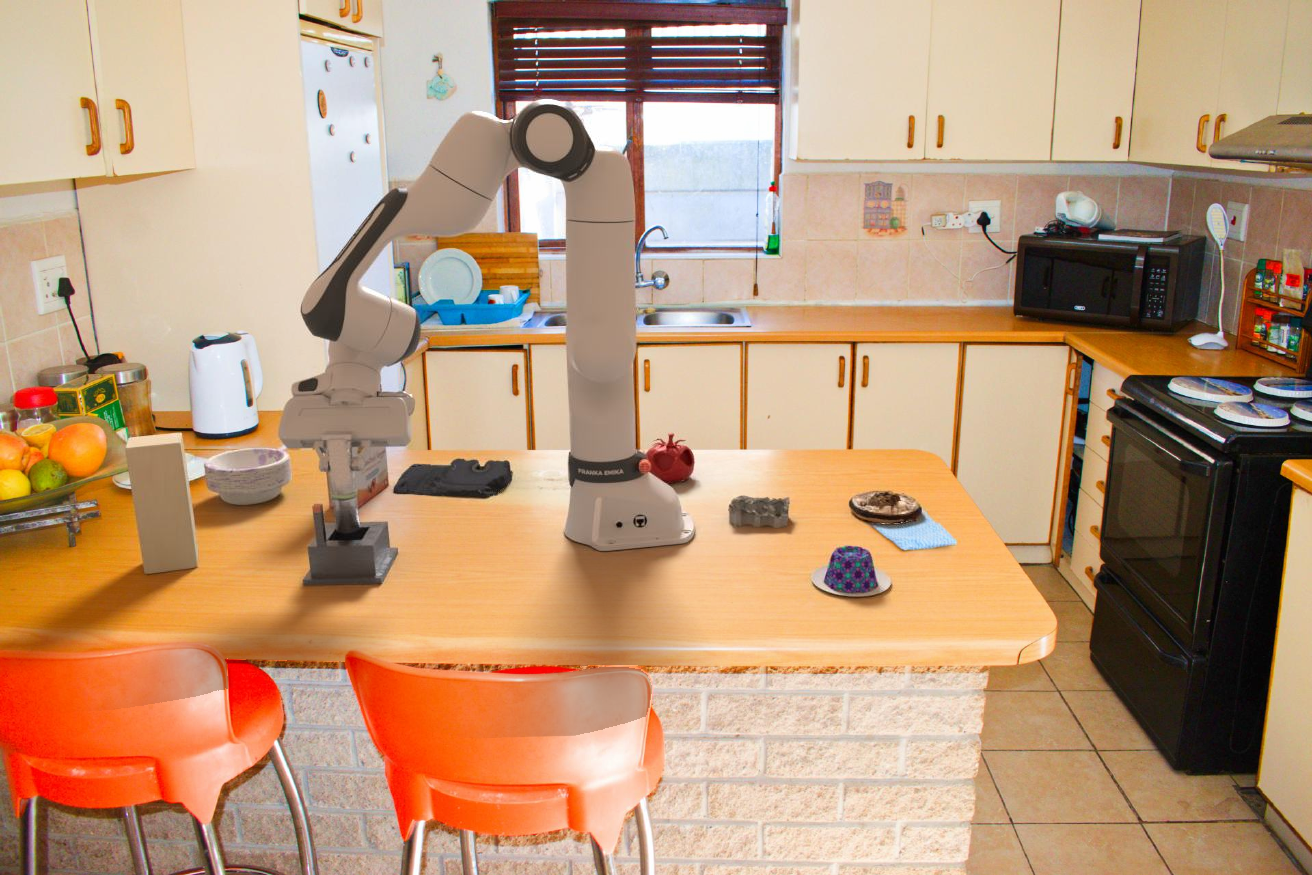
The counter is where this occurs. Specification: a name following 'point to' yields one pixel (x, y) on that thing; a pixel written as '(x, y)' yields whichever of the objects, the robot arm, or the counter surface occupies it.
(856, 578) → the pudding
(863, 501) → the chocolate cream pie
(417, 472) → the folded black cloth
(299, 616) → the counter surface
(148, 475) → the upright wooden block
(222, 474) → the paper bowls
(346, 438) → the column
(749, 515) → the egg carton
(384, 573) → the housing
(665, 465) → the pomegranate
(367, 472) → the cracker box
